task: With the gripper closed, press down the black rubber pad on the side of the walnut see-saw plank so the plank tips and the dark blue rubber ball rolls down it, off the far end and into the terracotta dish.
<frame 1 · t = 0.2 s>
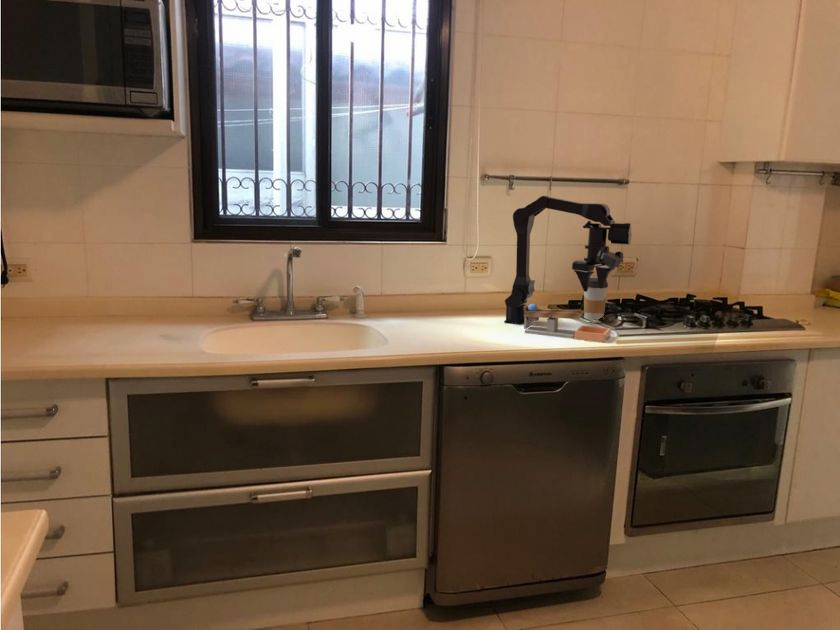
hand: (593, 290, 216), 14 cm above the counter, fingers open, 9 cm apart
dish: (592, 337, 209), on the counter
coffee cup: (593, 322, 232), on the counter
launcher base: (552, 333, 214), on the counter
lever: (554, 312, 215), point 6 cm above the counter, hinge at -4.0°, touching ball
ball: (532, 308, 216), point 8 cm above the counter, tilted 8°, touching lever
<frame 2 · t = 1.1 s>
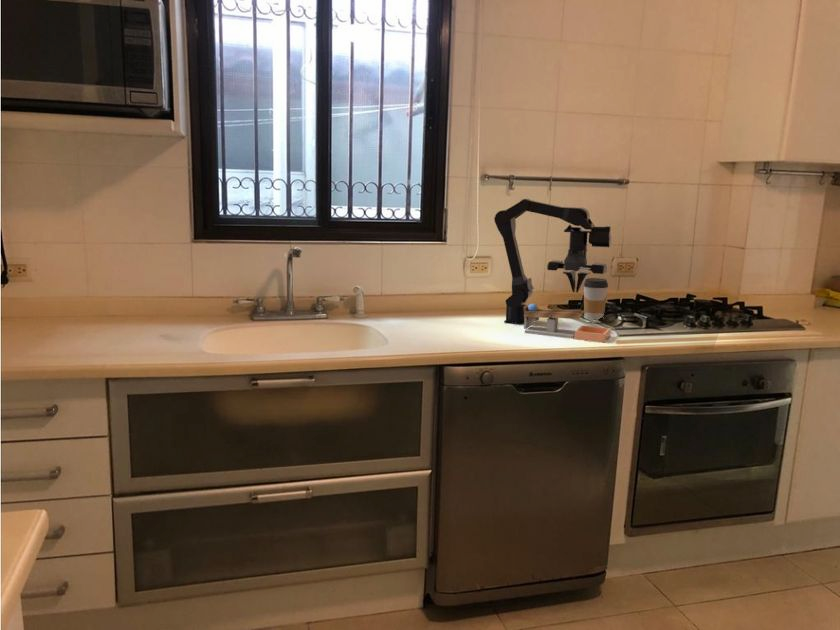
hand: (575, 292, 221), 12 cm above the counter, fingers closed
nothing on the counter moved.
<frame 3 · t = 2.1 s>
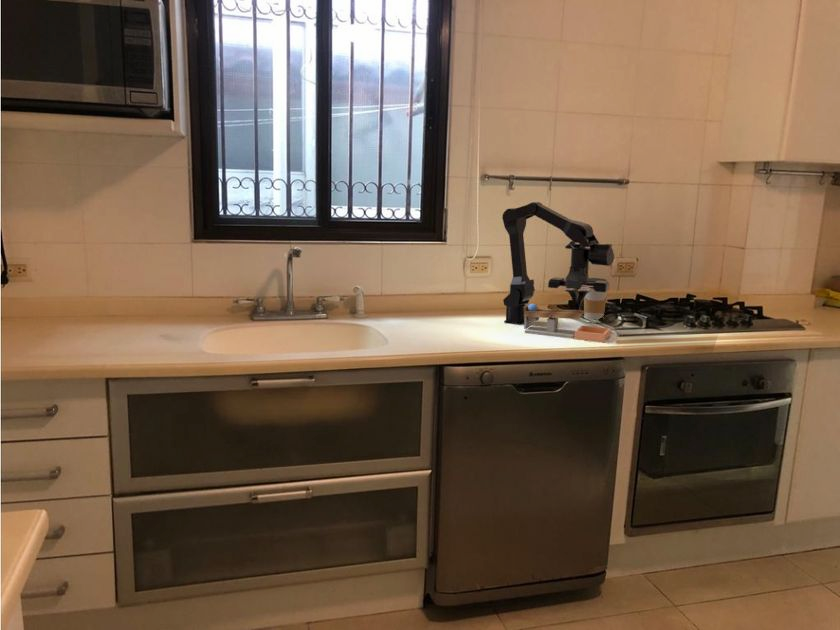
hand: (577, 310, 215), 7 cm above the counter, fingers closed, pressing on lever
lever: (554, 312, 215), point 6 cm above the counter, hinge at -3.7°, touching ball, gripper
everything else where it was.
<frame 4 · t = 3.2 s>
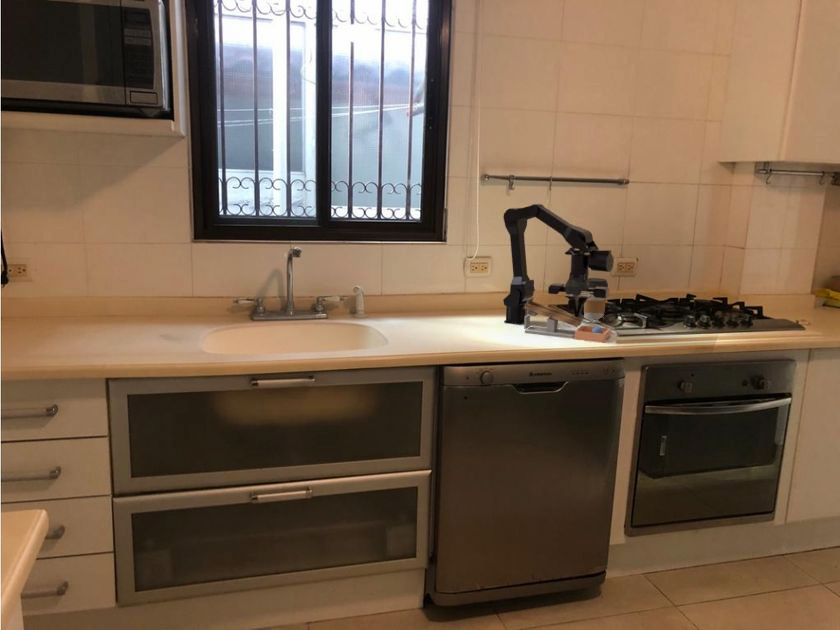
hand: (577, 316, 215), 5 cm above the counter, fingers closed
lever: (555, 312, 215), point 6 cm above the counter, hinge at 14.0°, touching gripper
ball: (597, 331, 207), point 2 cm above the counter, tilted 134°, touching dish
everything else where it was.
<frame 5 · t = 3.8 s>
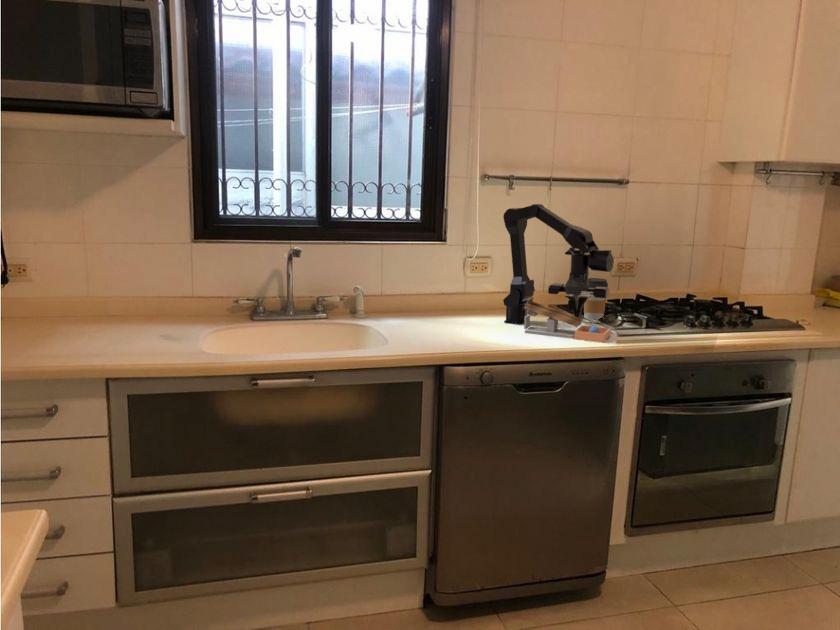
hand: (577, 316, 215), 5 cm above the counter, fingers closed
ball: (594, 331, 208), point 2 cm above the counter, tilted 99°, touching dish
everything else where it was.
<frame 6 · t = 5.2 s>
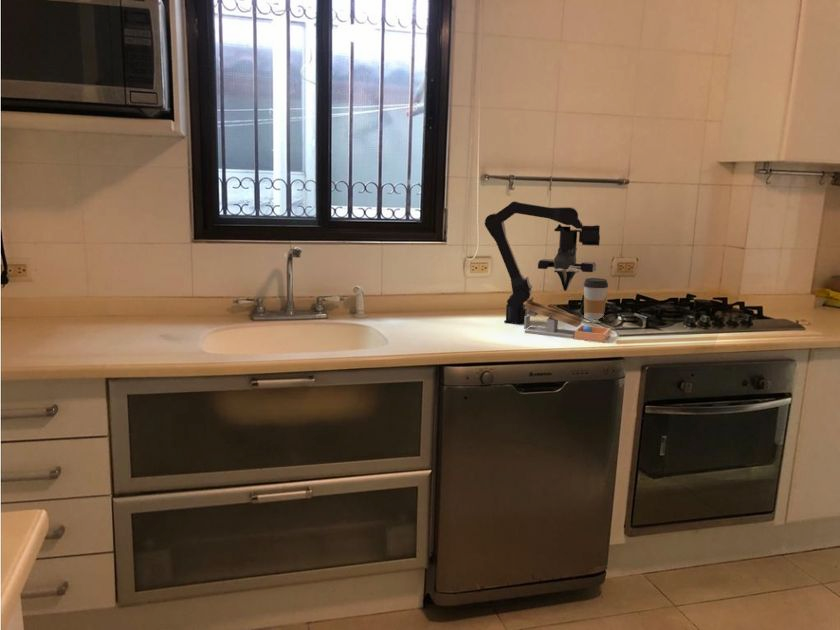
hand: (565, 290, 224), 12 cm above the counter, fingers closed
lever: (555, 312, 215), point 6 cm above the counter, hinge at 14.0°
ball: (587, 330, 209), point 2 cm above the counter, tilted 17°, touching dish
everything else where it was.
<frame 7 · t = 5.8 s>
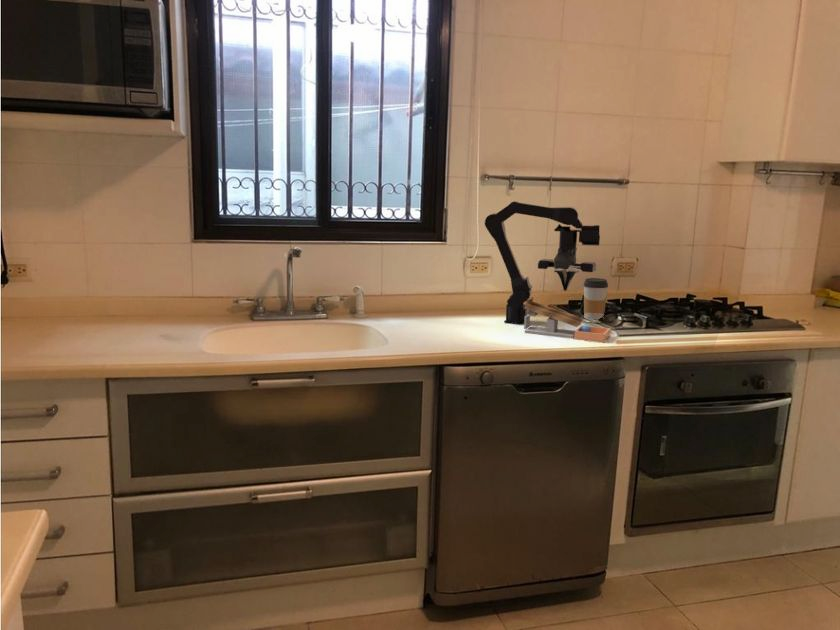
hand: (565, 290, 224), 12 cm above the counter, fingers closed
ball: (585, 330, 209), point 2 cm above the counter, touching dish
everything else where it was.
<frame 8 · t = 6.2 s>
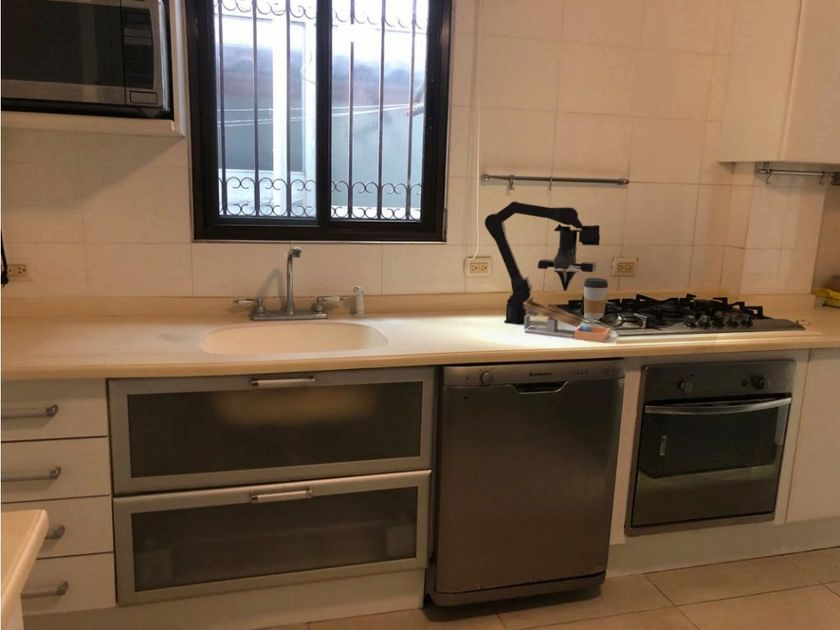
hand: (565, 290, 224), 12 cm above the counter, fingers closed
ball: (586, 330, 209), point 2 cm above the counter, tilted 5°, touching dish
everything else where it was.
at the end: ball inside the target area on the dish (2.1 cm from its centre), point 2.1 cm above the dish's base; lever at +14° (first picture: -4°) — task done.
